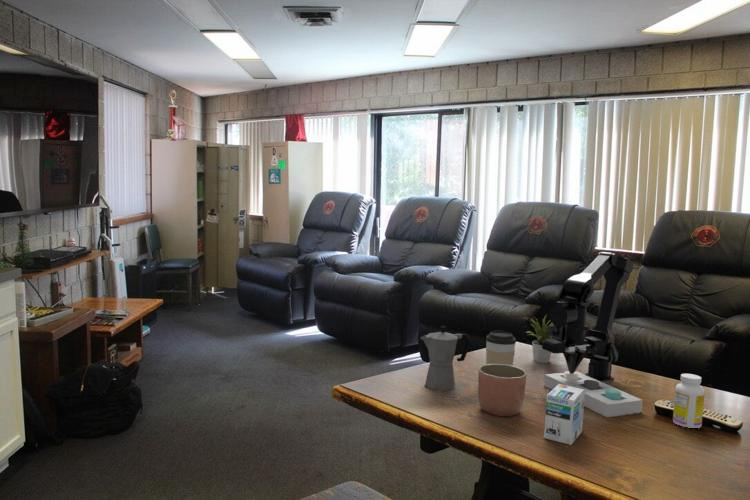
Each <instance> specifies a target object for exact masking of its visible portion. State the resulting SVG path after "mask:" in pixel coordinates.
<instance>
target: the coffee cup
mask: <svg viewBox="0 0 750 500" xmlns="http://www.w3.org/2000/svg"><path fill="white" fill-rule="evenodd" d="M485 341H486V347H485V358H486V359H485V360H486V361H485V362H486V364H485V365H487V364H504V365H511V366H514V360H515V352H516V349H515V347H516V343H517V342H516V341H517V338H516V337H515V336H514V335H513V334H512V333H511V332H506V331H505V330H502V329H496V330H494V331H490V332H489V333H488V334H487V335H486V338H485Z"/></svg>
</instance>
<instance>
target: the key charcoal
mask: <svg viewBox="0 0 750 500" xmlns="http://www.w3.org/2000/svg"><path fill="white" fill-rule="evenodd" d="M584 387H585V388H587V389H589V390H596V389H599V382H597V381H594V380H585V381H584Z"/></svg>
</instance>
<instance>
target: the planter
mask: <svg viewBox="0 0 750 500" xmlns="http://www.w3.org/2000/svg"><path fill="white" fill-rule="evenodd" d="M527 376H528V374H527V371H526V370H524V369H523V368H521V367H518V366H515V365H513V366H511V365H504V364H487V365H486V364H484V365H480V366H479V367H478V375H477V377H478V378H477V379H478V380H477V381H478V384H477V394H478V395H477V398H478V404H479V406H480V408H481V409H482V411H484V412H486V413H488V414H491V415H493V416H499V417H511V416H514V415H515V416H516V415H518V413H520V412H521V410H522V408H523V405H524V399H525V395H526V394H525V393H526V385H527V384H526V383H527Z"/></svg>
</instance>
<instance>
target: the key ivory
mask: <svg viewBox="0 0 750 500" xmlns="http://www.w3.org/2000/svg"><path fill="white" fill-rule="evenodd" d="M563 373H564V378H565V379H567V380H570V381H572V380H578V373H576V371H575V372H574V373H569V370H568V371H564V372H563Z"/></svg>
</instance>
